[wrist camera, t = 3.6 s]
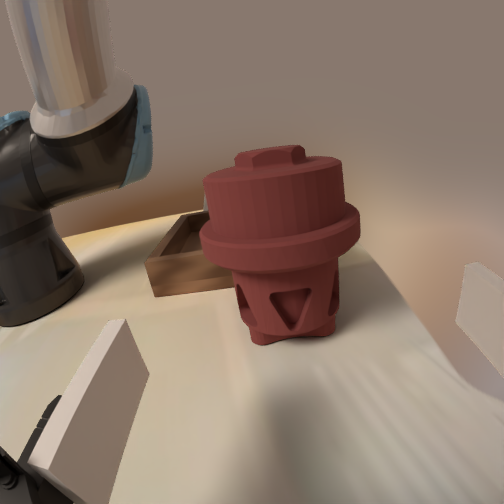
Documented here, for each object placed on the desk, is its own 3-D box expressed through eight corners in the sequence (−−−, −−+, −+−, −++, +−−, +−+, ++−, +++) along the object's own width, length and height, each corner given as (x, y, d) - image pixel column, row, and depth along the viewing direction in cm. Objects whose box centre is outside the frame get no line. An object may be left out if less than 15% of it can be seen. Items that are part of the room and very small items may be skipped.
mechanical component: (217, 379, 18) (229, 299, 27) (378, 355, 17) (341, 283, 26) (163, 172, 13) (200, 157, 22) (381, 143, 12) (330, 139, 22)
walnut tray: (154, 297, 29) (144, 263, 28) (186, 238, 46) (181, 215, 45) (338, 271, 28) (336, 234, 27) (305, 220, 45) (302, 196, 44)
